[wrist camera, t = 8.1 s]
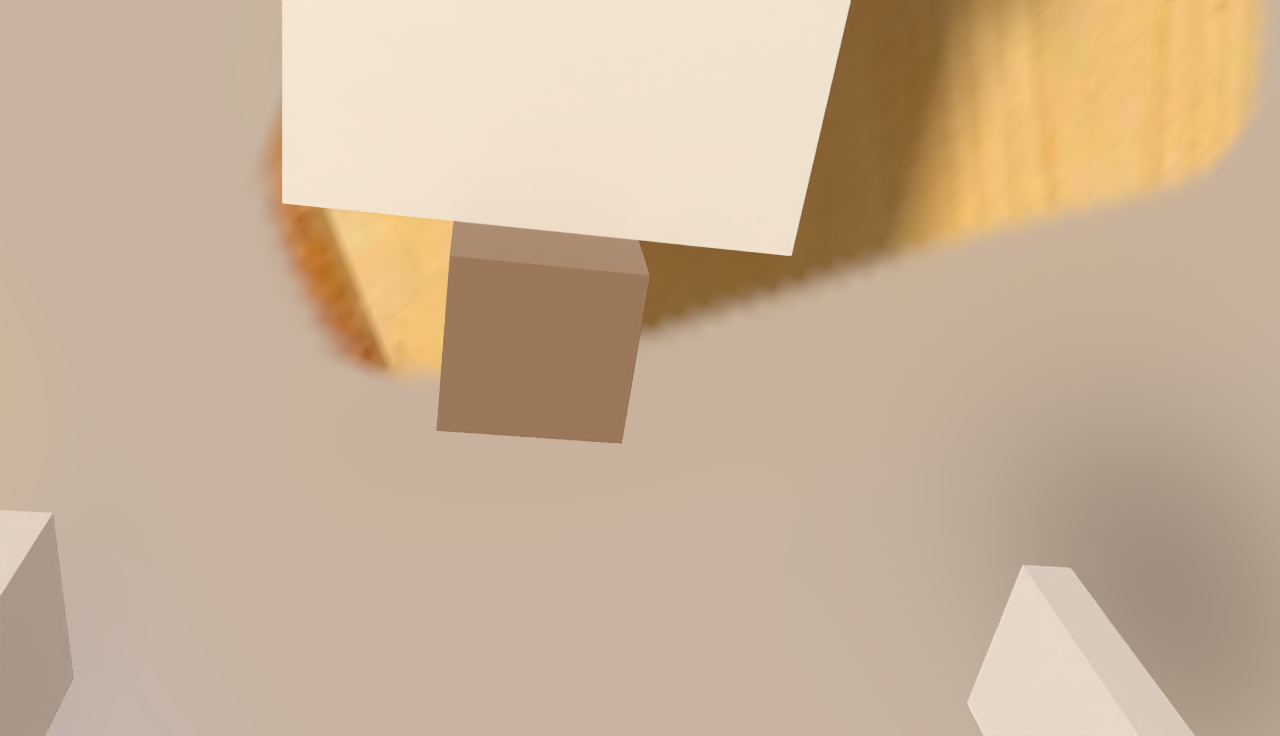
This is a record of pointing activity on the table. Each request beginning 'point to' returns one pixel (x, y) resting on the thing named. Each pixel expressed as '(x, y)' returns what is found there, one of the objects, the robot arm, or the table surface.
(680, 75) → the lid
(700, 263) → the table surface
